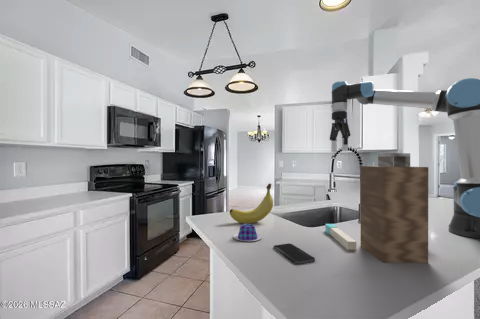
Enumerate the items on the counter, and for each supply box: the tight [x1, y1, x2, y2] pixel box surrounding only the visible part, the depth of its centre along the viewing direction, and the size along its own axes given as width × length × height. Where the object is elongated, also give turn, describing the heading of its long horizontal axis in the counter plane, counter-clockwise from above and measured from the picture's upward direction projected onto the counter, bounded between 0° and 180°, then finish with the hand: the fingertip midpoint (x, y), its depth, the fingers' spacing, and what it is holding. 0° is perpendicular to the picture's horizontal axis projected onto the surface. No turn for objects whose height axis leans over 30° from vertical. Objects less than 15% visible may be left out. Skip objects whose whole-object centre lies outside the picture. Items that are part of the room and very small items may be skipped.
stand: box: [360, 152, 429, 264], centre depth 80 cm, size 14×14×34 cm
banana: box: [229, 183, 274, 224], centre depth 119 cm, size 23×6×20 cm, turn 101°
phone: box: [273, 243, 316, 266], centre depth 79 cm, size 8×1×15 cm
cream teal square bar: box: [324, 223, 357, 251], centre depth 94 cm, size 3×22×3 cm, turn 179°
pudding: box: [232, 223, 263, 242], centre depth 96 cm, size 12×12×5 cm
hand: (339, 152), depth 123 cm, fingers open, 13 cm apart
